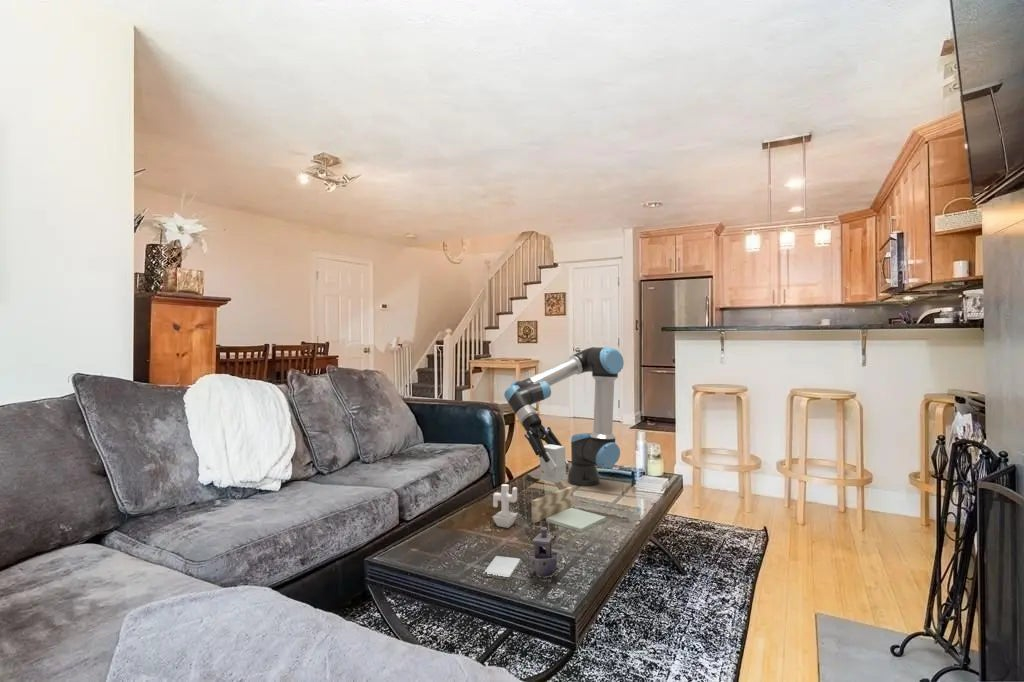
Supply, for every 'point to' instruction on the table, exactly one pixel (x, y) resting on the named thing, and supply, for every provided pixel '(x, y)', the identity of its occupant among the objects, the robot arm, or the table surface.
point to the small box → (559, 459)
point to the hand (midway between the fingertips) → (560, 466)
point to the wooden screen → (552, 504)
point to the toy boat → (544, 555)
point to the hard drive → (503, 566)
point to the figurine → (505, 506)
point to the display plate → (576, 519)
